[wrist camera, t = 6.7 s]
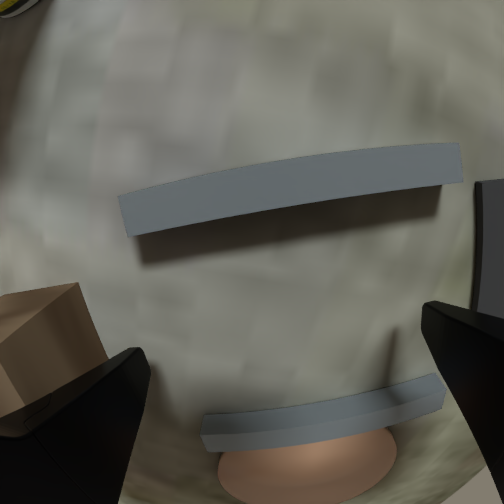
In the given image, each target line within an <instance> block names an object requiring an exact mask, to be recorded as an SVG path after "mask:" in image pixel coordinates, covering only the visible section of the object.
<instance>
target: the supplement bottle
mask: <svg viewBox="0 0 504 504" xmlns="http://www.w3.org/2000/svg"><path fill="white" fill-rule="evenodd" d="M38 1H39V0H0V17H2V18H9V17H13V16H16V15H18V14H20V13H22V12H23V11H25V10H27V9H28V8H30V7H31V6H32V5H34V4H35V3H36V2H38Z"/></svg>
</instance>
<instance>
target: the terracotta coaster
mask: <svg viewBox="0 0 504 504" xmlns="http://www.w3.org/2000/svg"><path fill="white" fill-rule="evenodd" d="M396 455H397V447H396V444H395V441H394V438H393V436H392V434H391V431H390V430H389V429H388V428H387V427H384V428H380V429H377V430H373V431H369V432H365V433H361V434H356V435H352V436H347V437H342V438H338V439H333V440H327V441H322V442H316V443H310V444H303V445H296V446H289V447H281V448H272V449H261V450H249V451H231V452H222V453H221V456H220V459H219V466H218V479H219V481H220V484H221V485H222V486H223V488H224V489H225V490H226V491H227V492H228V493H229V494H231V495H232V496H233V497H235V498H237V499H239V500H240V501H243V502H245V503H247V504H338V503H341V502H344V501H346V500H349V499H351V498H353V497H356V496H358V495H360V494H361V493H363V492H365V491H367V490H368V489H370V488H371V487H373V486H374V485H375V484H377V483H378V482H379V481H380V480H381V479H382V478H383V477H384V476H385V475H386V474H387V473H388V472H389V470H390V469H391V468H392V466H393V464H394V462H395V459H396Z"/></svg>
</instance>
